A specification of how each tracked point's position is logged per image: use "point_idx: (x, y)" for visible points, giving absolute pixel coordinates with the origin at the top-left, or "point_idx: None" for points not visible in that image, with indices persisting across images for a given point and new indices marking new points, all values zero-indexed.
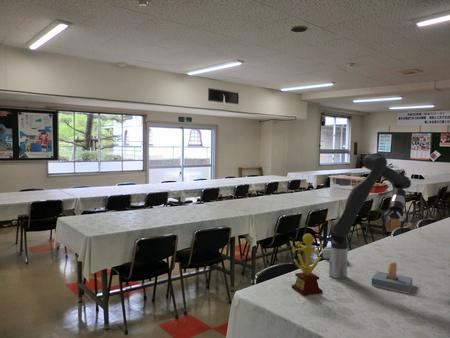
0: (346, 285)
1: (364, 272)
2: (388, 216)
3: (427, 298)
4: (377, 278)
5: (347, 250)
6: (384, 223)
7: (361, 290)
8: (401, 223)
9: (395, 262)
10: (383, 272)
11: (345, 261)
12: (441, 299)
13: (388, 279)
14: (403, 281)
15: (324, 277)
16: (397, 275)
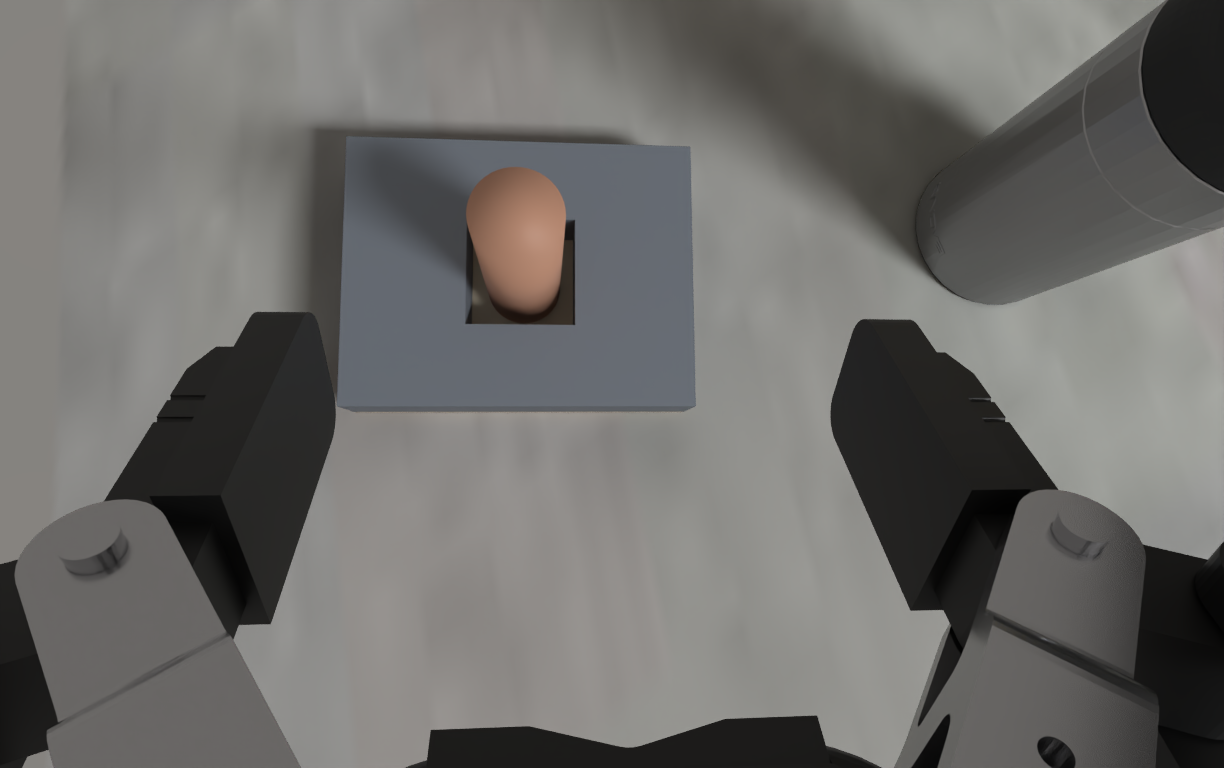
0: (853, 50)
1: (827, 505)
2: (987, 628)
3: (207, 141)
4: (642, 168)
5: (1116, 107)
6: (912, 334)
7: (717, 9)
8: (238, 397)
9: (485, 247)
10: (632, 399)
11: (1023, 126)
12: (94, 187)
13: None
14: (406, 231)
15: None
16: (487, 390)
